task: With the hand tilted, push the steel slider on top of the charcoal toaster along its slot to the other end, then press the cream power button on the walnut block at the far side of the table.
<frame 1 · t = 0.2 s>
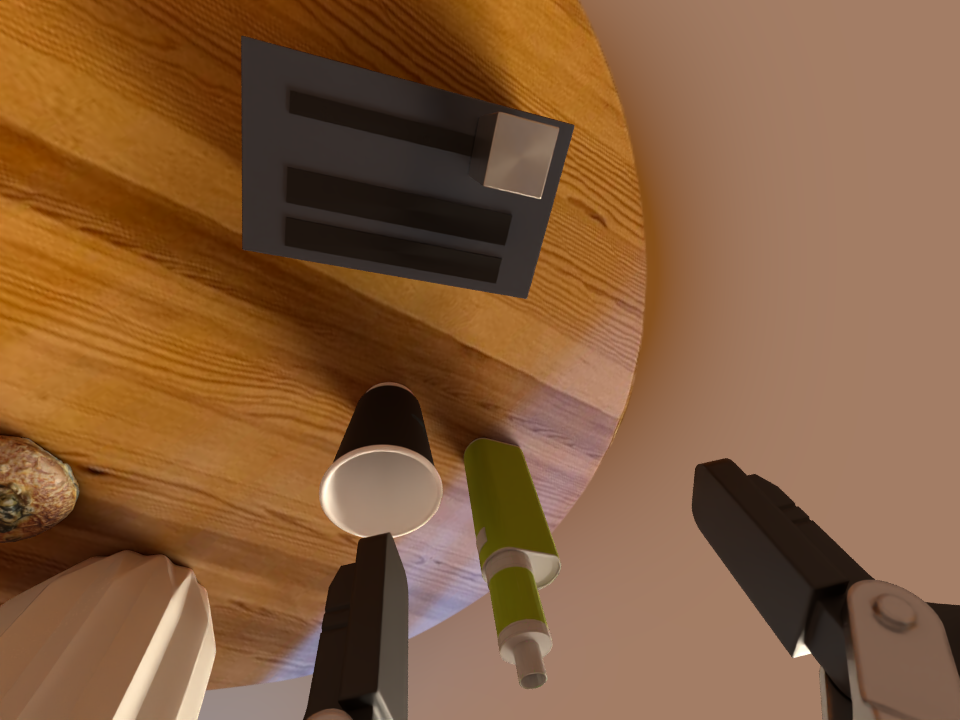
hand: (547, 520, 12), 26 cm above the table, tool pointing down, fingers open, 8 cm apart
vase: (142, 589, 45), on the table
vape: (492, 455, 43), on the table
toaster: (408, 172, 31), on the table
bread roll: (7, 475, 37), on the table
dixie cup: (389, 404, 39), on the table
toaster slider: (507, 154, 19), point 13 cm above the table, slide at 0.0 cm
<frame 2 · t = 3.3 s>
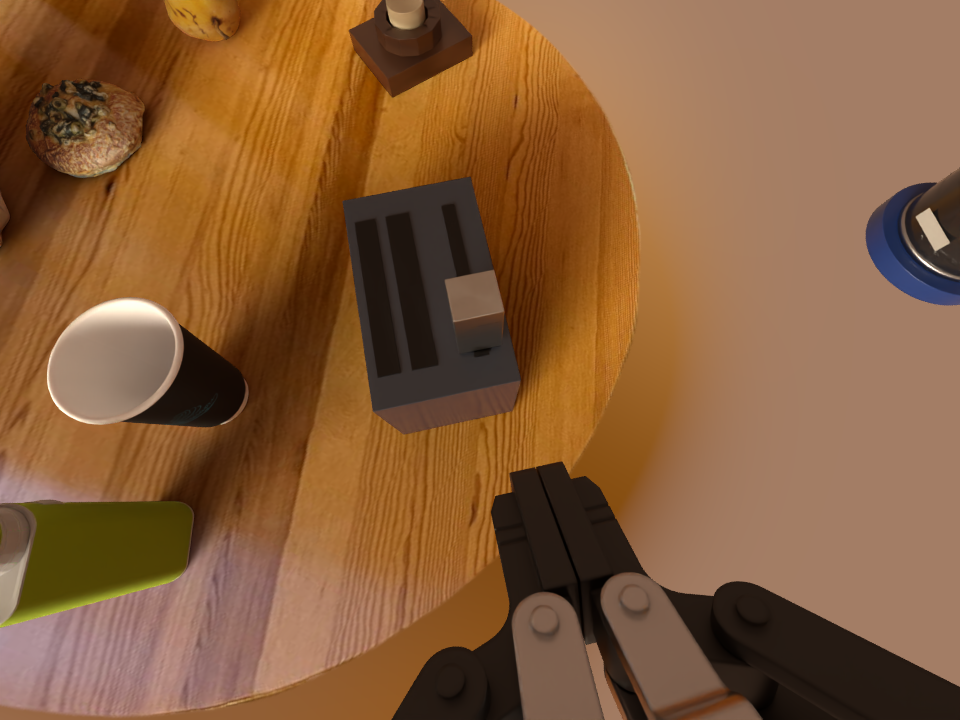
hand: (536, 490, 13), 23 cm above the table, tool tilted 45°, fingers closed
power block: (413, 52, 48), on the table
vape: (168, 540, 34), on the table
toaster: (441, 337, 38), on the table
power button: (406, 9, 43), point 4 cm above the table, slide at 0.1 cm
bread roll: (100, 137, 45), on the table
dixie cup: (221, 397, 37), on the table
toaster slider: (475, 315, 25), point 13 cm above the table, slide at 0.0 cm
fruit: (219, 34, 49), on the table
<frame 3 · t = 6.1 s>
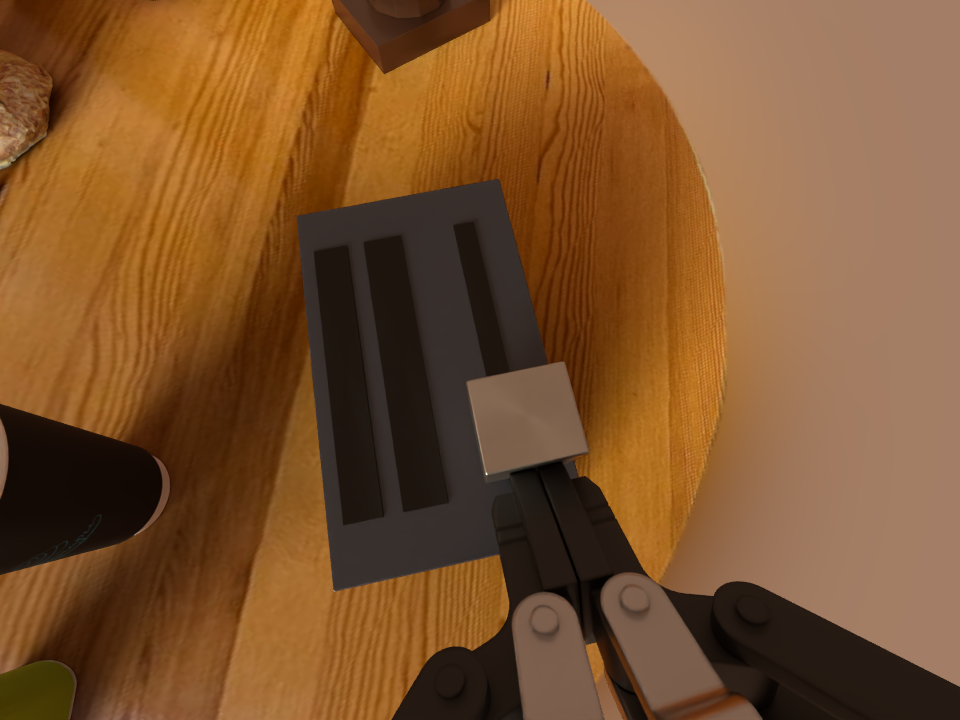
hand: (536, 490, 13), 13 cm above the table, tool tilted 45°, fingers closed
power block: (412, 17, 37), on the table
toaster: (448, 406, 27), on the table
dixie cup: (130, 494, 26), on the table
toaster slider: (519, 431, 13), point 13 cm above the table, slide at 0.1 cm, touching gripper
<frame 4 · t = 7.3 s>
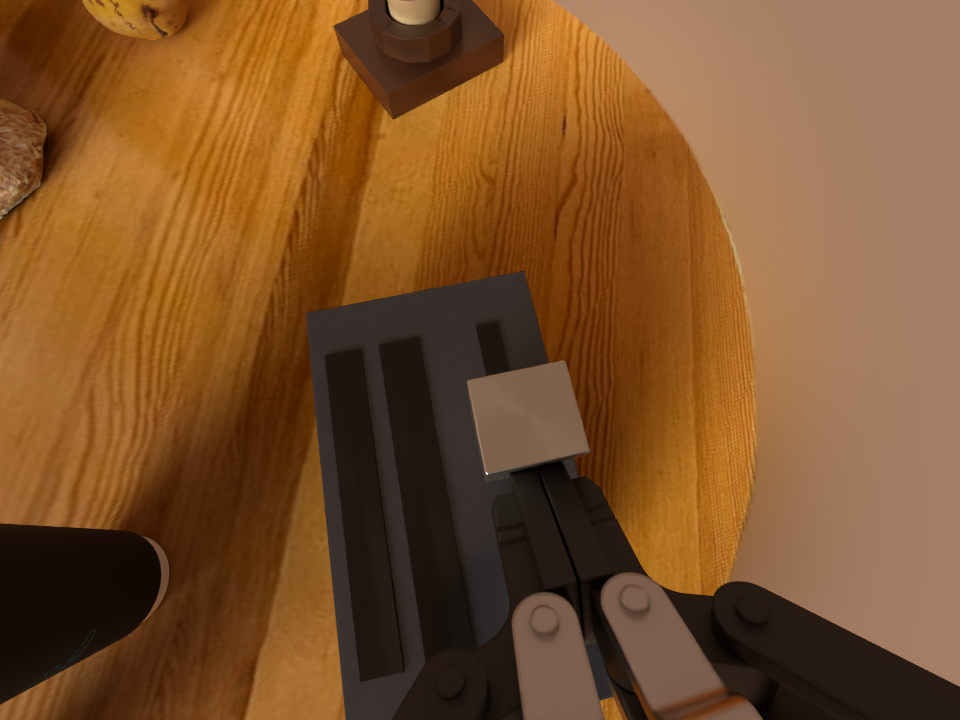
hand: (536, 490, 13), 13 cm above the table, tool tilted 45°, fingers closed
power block: (422, 57, 35), on the table
toaster: (463, 486, 25), on the table
dixie cup: (127, 581, 24), on the table
toaster slider: (519, 430, 13), point 13 cm above the table, slide at 4.8 cm, touching gripper
fruit: (161, 30, 37), on the table
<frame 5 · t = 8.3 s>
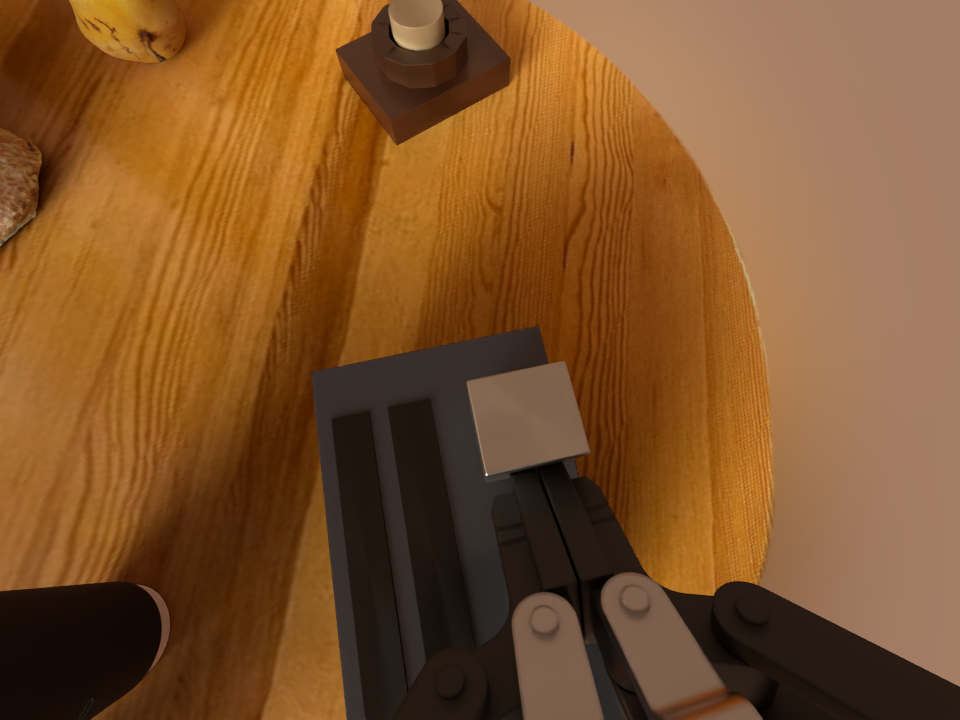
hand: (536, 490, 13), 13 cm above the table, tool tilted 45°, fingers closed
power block: (426, 80, 34), on the table
toaster: (472, 531, 25), on the table
power button: (417, 21, 30), point 4 cm above the table, slide at 0.1 cm
dixie cup: (127, 633, 24), on the table
toaster slider: (519, 430, 13), point 13 cm above the table, slide at 7.3 cm, touching gripper
fruit: (159, 52, 36), on the table
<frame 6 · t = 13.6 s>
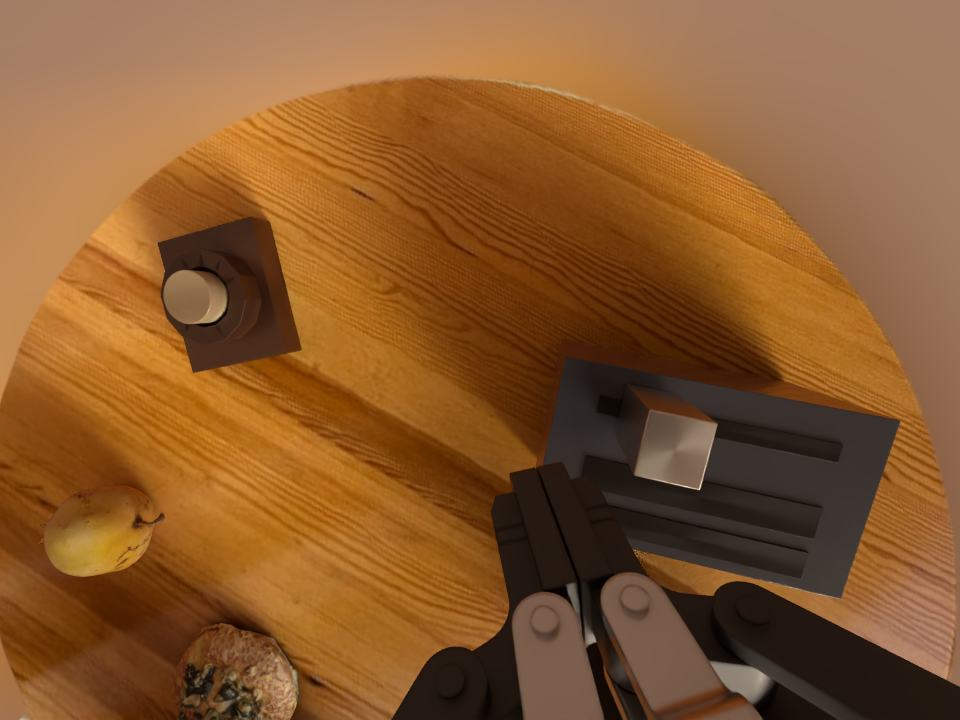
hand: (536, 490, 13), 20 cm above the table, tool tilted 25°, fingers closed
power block: (241, 297, 35), on the table
toaster: (654, 421, 31), on the table
power button: (196, 297, 31), point 4 cm above the table, slide at 0.1 cm
bread roll: (246, 671, 40), on the table
dixie cup: (612, 658, 34), on the table
toaster slider: (658, 430, 19), point 13 cm above the table, slide at 7.3 cm
fruit: (141, 511, 39), on the table
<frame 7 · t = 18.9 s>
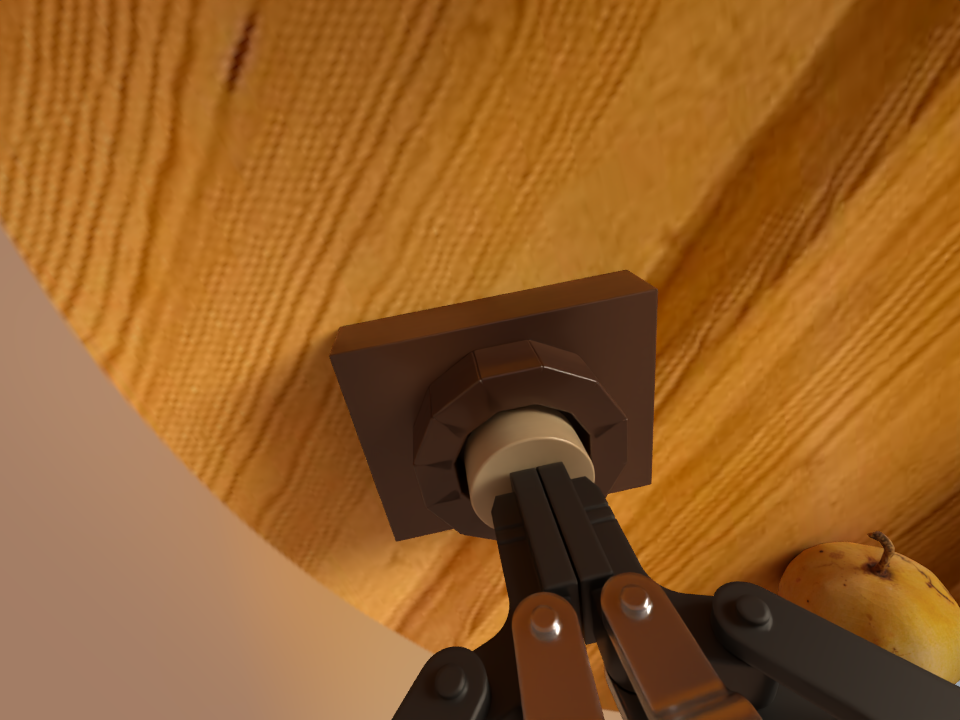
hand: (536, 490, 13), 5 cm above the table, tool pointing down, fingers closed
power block: (501, 395, 17), on the table
power button: (526, 469, 13), point 4 cm above the table, slide at -0.2 cm, touching gripper
fruit: (814, 557, 25), on the table
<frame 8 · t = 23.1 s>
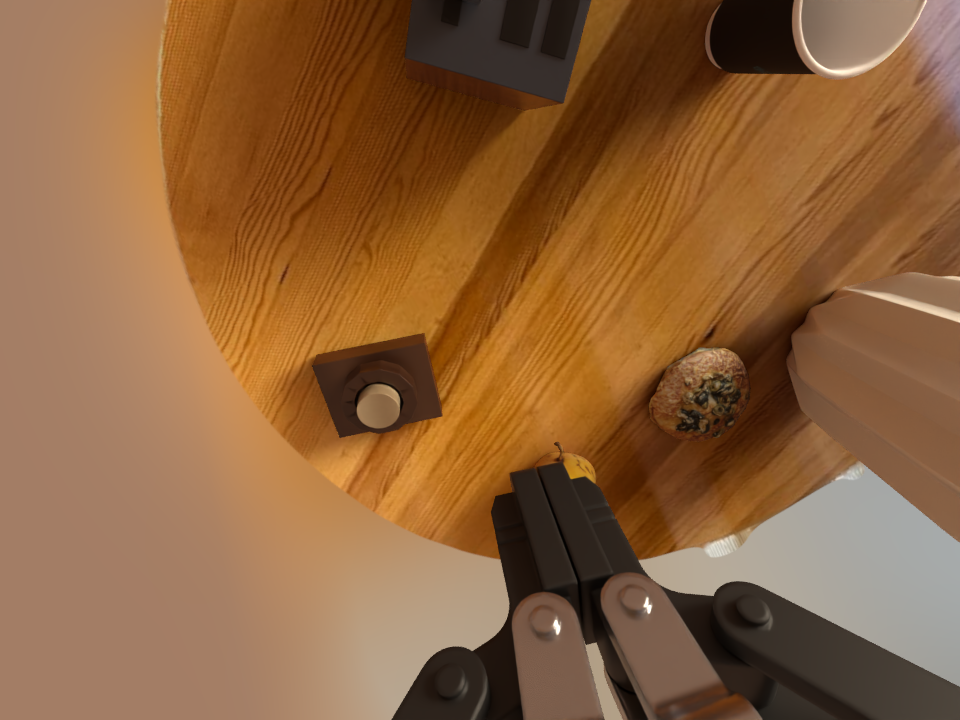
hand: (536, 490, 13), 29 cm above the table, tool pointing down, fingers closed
vase: (836, 336, 48), on the table
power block: (381, 380, 43), on the table
power button: (378, 405, 39), point 4 cm above the table, slide at 0.1 cm
bread roll: (692, 389, 49), on the table
dixie cup: (733, 33, 34), on the table
fruit: (555, 462, 51), on the table
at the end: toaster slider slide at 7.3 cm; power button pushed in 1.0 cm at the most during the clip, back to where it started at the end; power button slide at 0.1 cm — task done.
